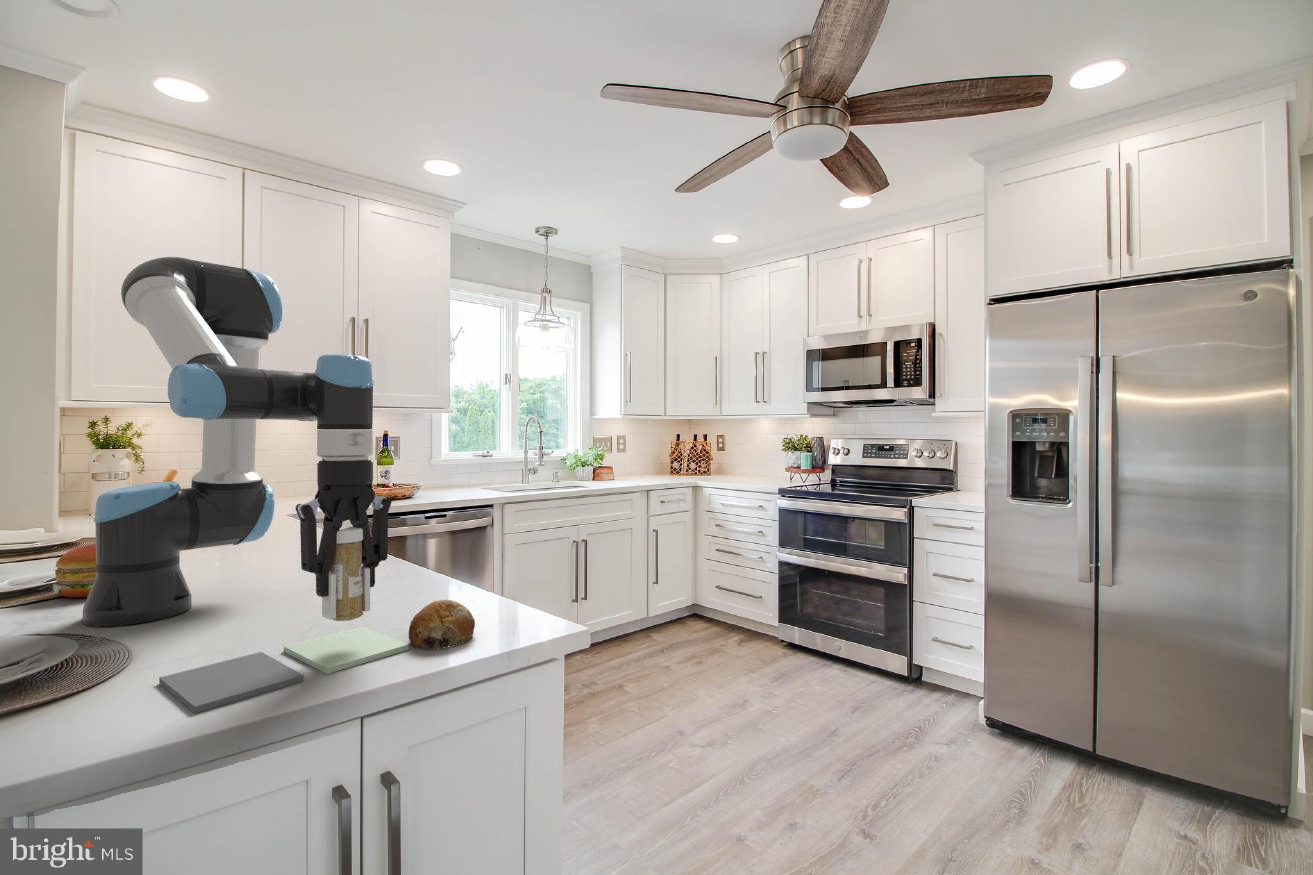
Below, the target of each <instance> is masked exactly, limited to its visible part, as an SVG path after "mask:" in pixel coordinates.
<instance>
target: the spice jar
mask: <svg viewBox="0 0 1313 875" xmlns="http://www.w3.org/2000/svg"><path fill="white" fill-rule="evenodd" d="M362 540H363V529H361V528H357V527H353V526H343V527H341V528H340V529H339V531H338V532H337V543H336V547H335V552H334V556H333V561H332V566H331V570H330V573H333V574H336V619H331V621H334V622H335V621H336V622H345V621H346V622H349V621H353V620H356V619H359V618H360V617H362V616H363V615H364V611H363V610H362V593H363V588H362V566H363V564H362V545H361V544H362Z"/></svg>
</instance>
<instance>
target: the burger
mask: <svg viewBox="0 0 1313 875" xmlns="http://www.w3.org/2000/svg"><path fill="white" fill-rule="evenodd" d="M55 568H56V569H55V570H54V573H55V579H56V581H55V583H54V584H53V585H52V590H53V593H54V594H59V595H60V596H62V597H66V598H67V597H68V598H88V595H89V593H90V590H91V588H92V585H93V583H94V580H95V577H96V543H92V544H86V545H83V546H79V547H76V548H73V549H71V550H68V551H67V552H66V553H65V554H62V555H61V556H60V557H59V558H58V560H57V561H56V563H55Z"/></svg>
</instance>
